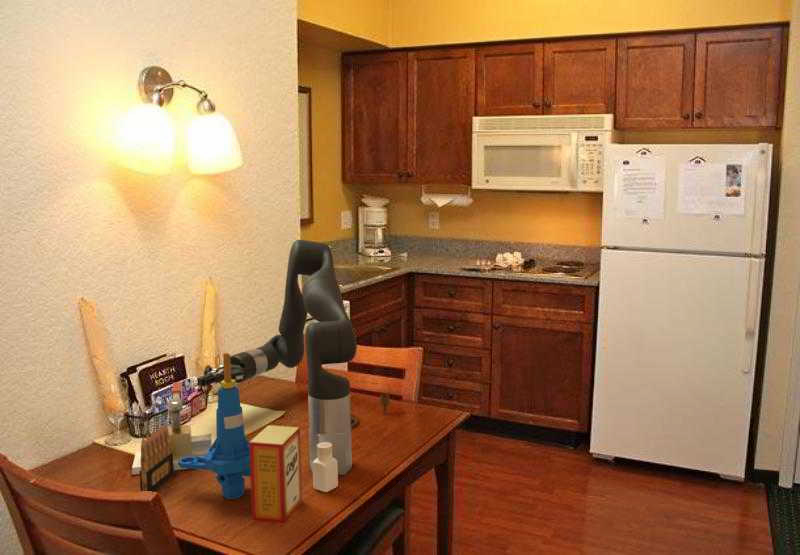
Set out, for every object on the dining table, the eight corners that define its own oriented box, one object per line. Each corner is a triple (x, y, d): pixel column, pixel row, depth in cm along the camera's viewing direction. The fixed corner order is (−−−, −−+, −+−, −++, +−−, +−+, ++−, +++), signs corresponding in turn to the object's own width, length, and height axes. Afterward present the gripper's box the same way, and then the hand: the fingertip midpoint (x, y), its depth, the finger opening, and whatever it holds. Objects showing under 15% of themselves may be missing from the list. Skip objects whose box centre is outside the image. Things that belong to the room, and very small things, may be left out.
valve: (194, 478, 160) (186, 343, 155) (267, 485, 156) (261, 347, 151) (167, 500, 150) (158, 357, 145) (245, 509, 146) (238, 362, 141)
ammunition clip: (166, 473, 163) (163, 421, 161) (174, 473, 162) (171, 421, 160) (140, 494, 152) (136, 439, 150) (148, 495, 152) (144, 440, 150)
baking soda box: (271, 497, 150) (268, 423, 148) (301, 500, 149) (299, 425, 146) (252, 520, 141) (249, 440, 139) (284, 523, 140) (281, 443, 137)
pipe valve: (211, 447, 173) (209, 403, 171) (211, 456, 167) (209, 411, 166) (144, 454, 169) (141, 408, 167) (142, 463, 164) (139, 417, 162)
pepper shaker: (312, 488, 154) (310, 445, 153) (325, 482, 157) (323, 439, 156) (326, 494, 152) (324, 450, 150) (339, 487, 155) (338, 444, 154)
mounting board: (220, 450, 175) (220, 443, 175) (221, 465, 167) (221, 458, 166) (136, 458, 171) (136, 452, 170) (132, 474, 162) (132, 467, 162)
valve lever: (184, 388, 181) (184, 381, 181) (182, 410, 165) (181, 403, 165) (171, 389, 180) (170, 382, 180) (167, 412, 165) (166, 404, 164)
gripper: (227, 348, 200) (179, 364, 185) (265, 354, 194) (218, 371, 179) (228, 375, 201) (181, 393, 187) (266, 382, 195) (220, 401, 180)
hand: (199, 382), depth 183 cm, fingers closed
